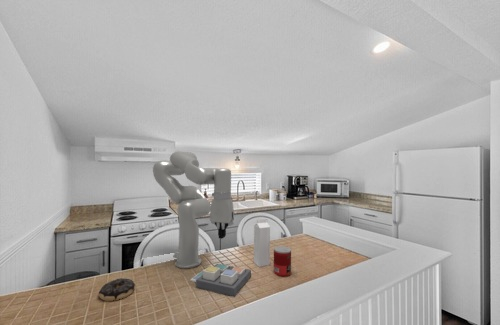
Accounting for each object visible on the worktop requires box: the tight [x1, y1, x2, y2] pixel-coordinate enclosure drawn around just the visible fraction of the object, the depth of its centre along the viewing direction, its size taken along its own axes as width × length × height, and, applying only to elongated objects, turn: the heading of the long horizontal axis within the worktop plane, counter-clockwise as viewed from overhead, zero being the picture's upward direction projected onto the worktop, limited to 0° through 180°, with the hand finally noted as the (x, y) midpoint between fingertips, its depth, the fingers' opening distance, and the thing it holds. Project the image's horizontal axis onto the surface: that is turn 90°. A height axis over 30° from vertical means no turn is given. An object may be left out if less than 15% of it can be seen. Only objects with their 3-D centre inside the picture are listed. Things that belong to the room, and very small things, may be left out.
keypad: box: [195, 263, 252, 298], centre depth 95 cm, size 17×17×3 cm
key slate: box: [221, 269, 238, 285], centre depth 90 cm, size 5×5×4 cm
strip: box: [189, 268, 206, 283], centre depth 100 cm, size 4×11×1 cm, turn 158°
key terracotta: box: [232, 266, 246, 277], centre depth 98 cm, size 5×5×4 cm
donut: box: [98, 277, 136, 302], centre depth 86 cm, size 11×12×4 cm
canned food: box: [273, 245, 292, 277], centre depth 104 cm, size 8×8×11 cm
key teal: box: [216, 263, 230, 273], centre depth 100 cm, size 5×5×4 cm
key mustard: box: [202, 265, 220, 281], centre depth 93 cm, size 5×5×4 cm
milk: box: [253, 219, 271, 268], centre depth 114 cm, size 6×6×22 cm
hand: (221, 237), depth 101 cm, fingers closed
